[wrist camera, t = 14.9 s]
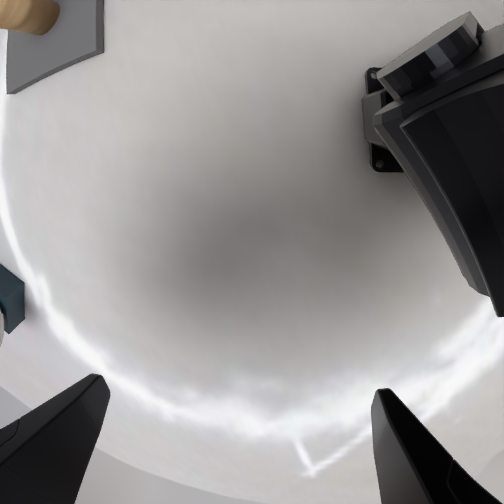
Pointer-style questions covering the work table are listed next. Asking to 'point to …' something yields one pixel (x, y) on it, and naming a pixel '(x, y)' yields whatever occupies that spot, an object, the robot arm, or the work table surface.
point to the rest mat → (55, 44)
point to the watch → (10, 301)
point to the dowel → (28, 15)
